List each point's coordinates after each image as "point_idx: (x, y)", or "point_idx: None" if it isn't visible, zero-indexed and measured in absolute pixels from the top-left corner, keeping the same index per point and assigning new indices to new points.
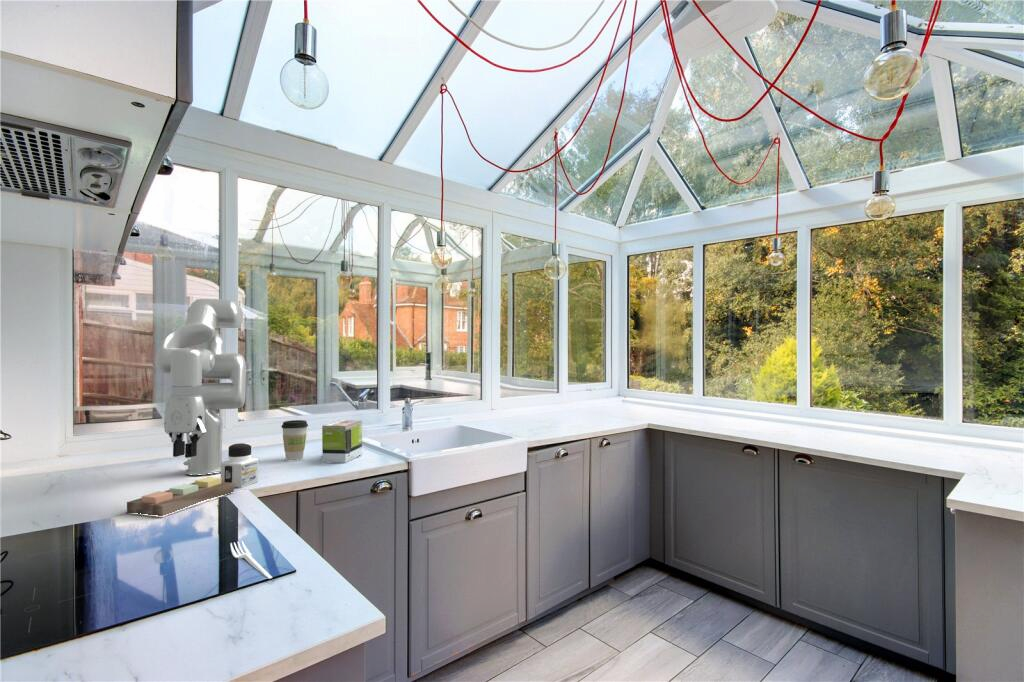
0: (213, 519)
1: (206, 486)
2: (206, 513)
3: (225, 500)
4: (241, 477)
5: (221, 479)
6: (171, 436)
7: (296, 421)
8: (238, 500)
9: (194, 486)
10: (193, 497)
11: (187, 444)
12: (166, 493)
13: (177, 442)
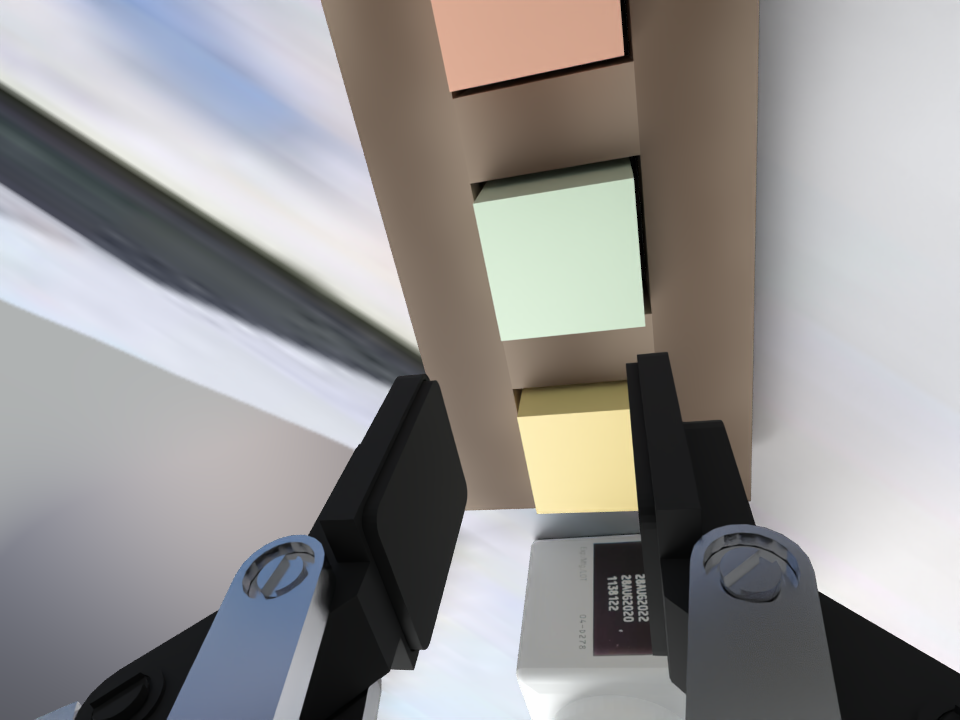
0: (29, 72)
1: (532, 396)
2: (188, 133)
3: (369, 355)
4: (526, 592)
5: None
6: (918, 695)
7: None
8: (305, 380)
9: (495, 306)
10: (382, 204)
11: (328, 518)
12: (473, 43)
13: (661, 563)
